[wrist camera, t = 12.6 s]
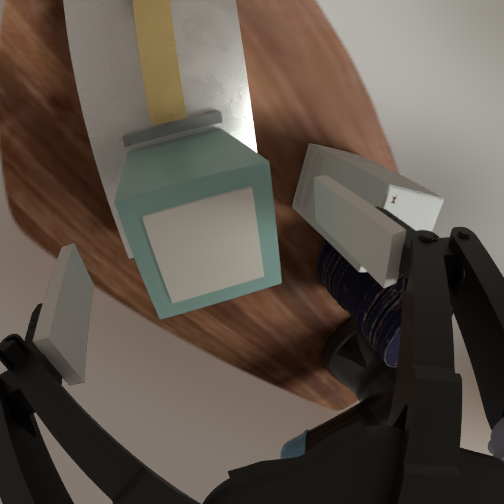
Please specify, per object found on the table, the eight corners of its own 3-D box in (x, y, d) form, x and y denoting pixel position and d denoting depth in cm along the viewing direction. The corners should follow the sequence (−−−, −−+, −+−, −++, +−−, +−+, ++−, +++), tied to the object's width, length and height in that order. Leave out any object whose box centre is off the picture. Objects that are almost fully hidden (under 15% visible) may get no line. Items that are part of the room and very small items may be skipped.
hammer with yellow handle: (166, -54, 13) (173, -87, 8) (187, 109, 20) (198, 117, 16) (121, -46, 12) (115, -77, 8) (143, 119, 19) (141, 130, 15)
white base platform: (248, 199, 31) (270, 225, 26) (130, 231, 29) (128, 265, 24) (211, -47, 17) (227, -73, 12) (74, -18, 15) (57, -39, 10)
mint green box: (235, 211, 26) (283, 285, 17) (151, 234, 24) (160, 322, 16) (221, 128, 22) (270, 162, 14) (127, 152, 20) (113, 203, 12)
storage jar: (319, 226, 35) (402, 307, 23) (384, 217, 38) (468, 282, 26) (310, 294, 41) (372, 379, 29) (370, 280, 43) (435, 349, 31)
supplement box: (289, 208, 33) (355, 274, 23) (307, 140, 30) (390, 181, 19) (344, 215, 36) (415, 274, 25) (363, 155, 32) (447, 198, 22)
